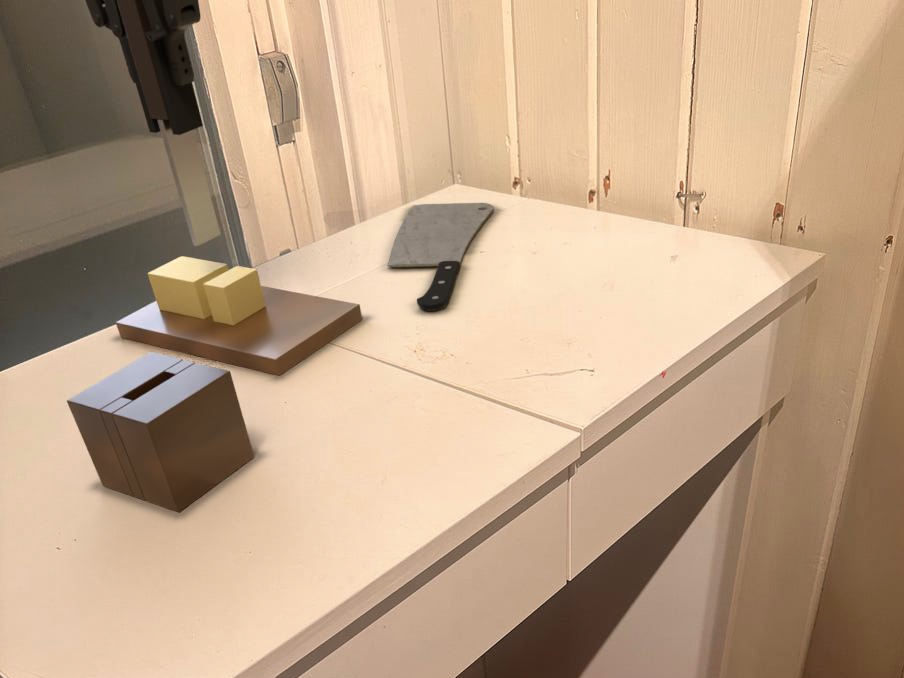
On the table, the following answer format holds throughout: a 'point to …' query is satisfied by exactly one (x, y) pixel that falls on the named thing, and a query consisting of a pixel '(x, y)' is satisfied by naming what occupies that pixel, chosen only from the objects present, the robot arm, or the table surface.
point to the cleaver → (437, 243)
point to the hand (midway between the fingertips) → (176, 128)
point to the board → (249, 330)
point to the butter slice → (234, 295)
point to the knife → (177, 146)
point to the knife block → (163, 429)
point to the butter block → (185, 285)
